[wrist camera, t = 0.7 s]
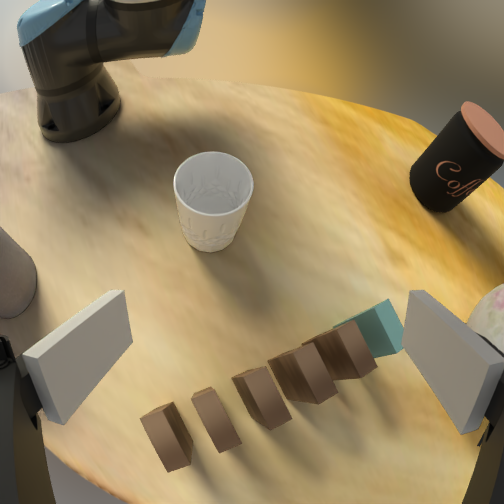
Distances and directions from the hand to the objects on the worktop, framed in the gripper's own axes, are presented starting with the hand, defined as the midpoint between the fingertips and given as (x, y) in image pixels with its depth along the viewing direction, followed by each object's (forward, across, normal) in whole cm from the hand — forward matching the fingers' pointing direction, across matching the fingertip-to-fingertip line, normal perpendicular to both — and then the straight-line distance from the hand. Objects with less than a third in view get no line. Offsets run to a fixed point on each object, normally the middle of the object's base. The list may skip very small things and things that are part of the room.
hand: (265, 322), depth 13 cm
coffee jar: (+40, +29, +6) cm, 50 cm away
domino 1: (+12, -10, -18) cm, 24 cm away
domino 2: (+13, -6, -17) cm, 23 cm away
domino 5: (+19, +6, -14) cm, 24 cm away
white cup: (+26, -8, 0) cm, 27 cm away
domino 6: (+21, +9, -13) cm, 26 cm away
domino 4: (+17, +2, -15) cm, 23 cm away
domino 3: (+15, -2, -16) cm, 22 cm away
